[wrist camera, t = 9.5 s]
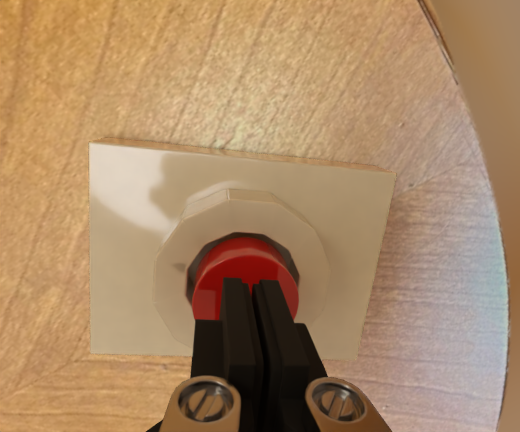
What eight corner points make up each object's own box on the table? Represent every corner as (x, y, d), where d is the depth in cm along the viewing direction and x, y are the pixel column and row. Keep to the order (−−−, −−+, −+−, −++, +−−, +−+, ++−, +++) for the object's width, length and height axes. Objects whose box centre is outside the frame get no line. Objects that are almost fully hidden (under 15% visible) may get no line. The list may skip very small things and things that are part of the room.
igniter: (375, 165, 17) (422, 181, 13) (341, 334, 19) (372, 389, 16) (105, 136, 15) (68, 146, 11) (104, 325, 18) (73, 385, 14)
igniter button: (295, 240, 14) (306, 258, 12) (283, 324, 15) (291, 352, 13) (198, 233, 13) (195, 251, 12) (191, 321, 14) (188, 349, 12)
